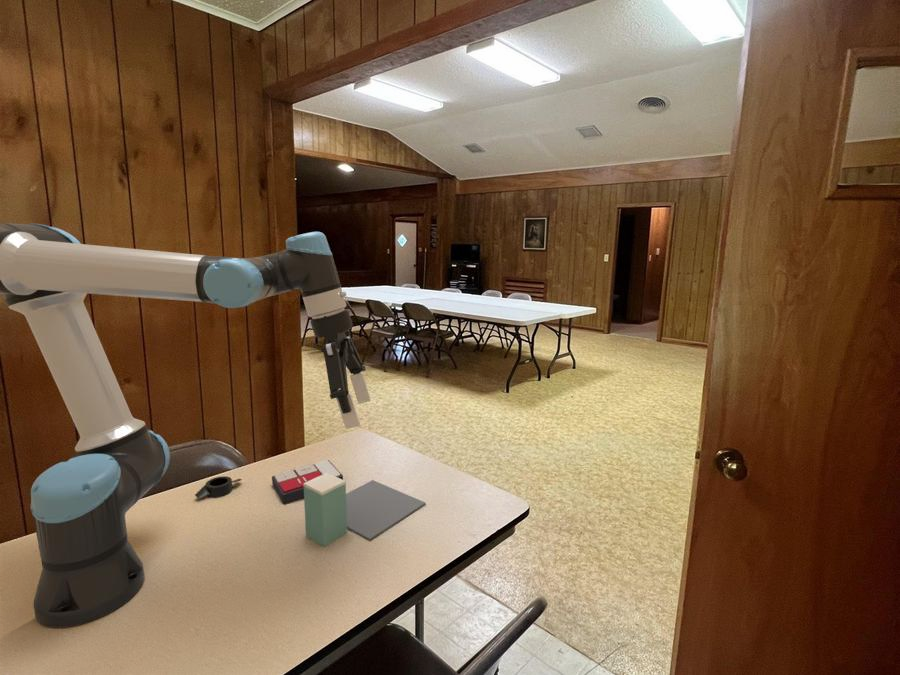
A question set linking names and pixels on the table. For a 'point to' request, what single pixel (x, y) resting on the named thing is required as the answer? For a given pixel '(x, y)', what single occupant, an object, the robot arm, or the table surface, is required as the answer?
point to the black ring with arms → (216, 487)
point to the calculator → (300, 480)
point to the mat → (377, 509)
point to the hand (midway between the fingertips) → (359, 413)
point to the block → (325, 508)
